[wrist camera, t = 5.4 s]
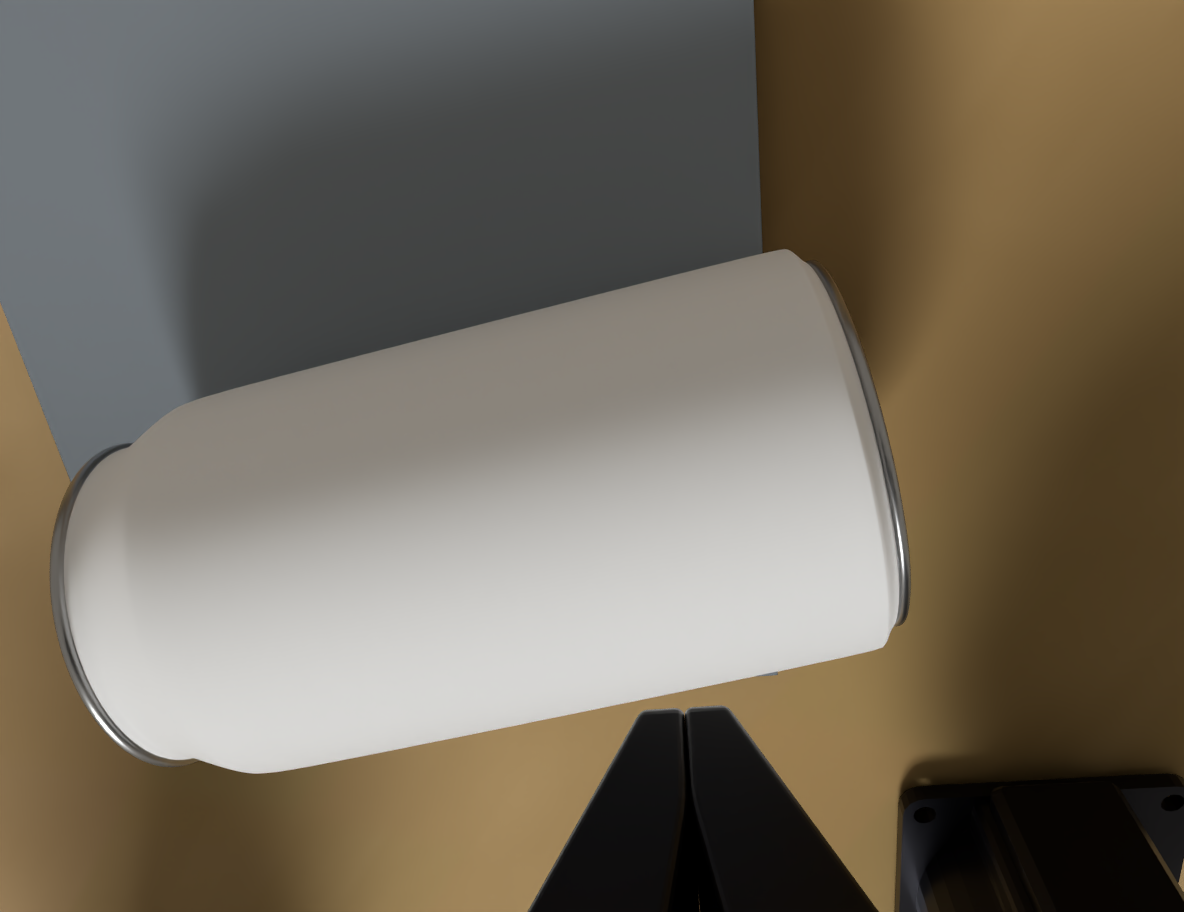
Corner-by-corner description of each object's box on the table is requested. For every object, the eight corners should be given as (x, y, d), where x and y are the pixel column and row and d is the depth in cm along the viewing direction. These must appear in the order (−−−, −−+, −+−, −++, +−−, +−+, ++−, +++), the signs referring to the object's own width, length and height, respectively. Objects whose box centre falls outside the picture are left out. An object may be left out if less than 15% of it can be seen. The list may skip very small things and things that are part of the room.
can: (897, 683, 16) (257, 812, 18) (801, 372, 19) (259, 503, 21) (945, 565, 11) (-2, 768, 12) (799, 149, 14) (51, 349, 15)
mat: (774, 660, 21) (777, 675, 21) (171, 698, 22) (161, 713, 22) (742, -203, 14) (746, -210, 14) (-127, -79, 15) (-151, -81, 15)
